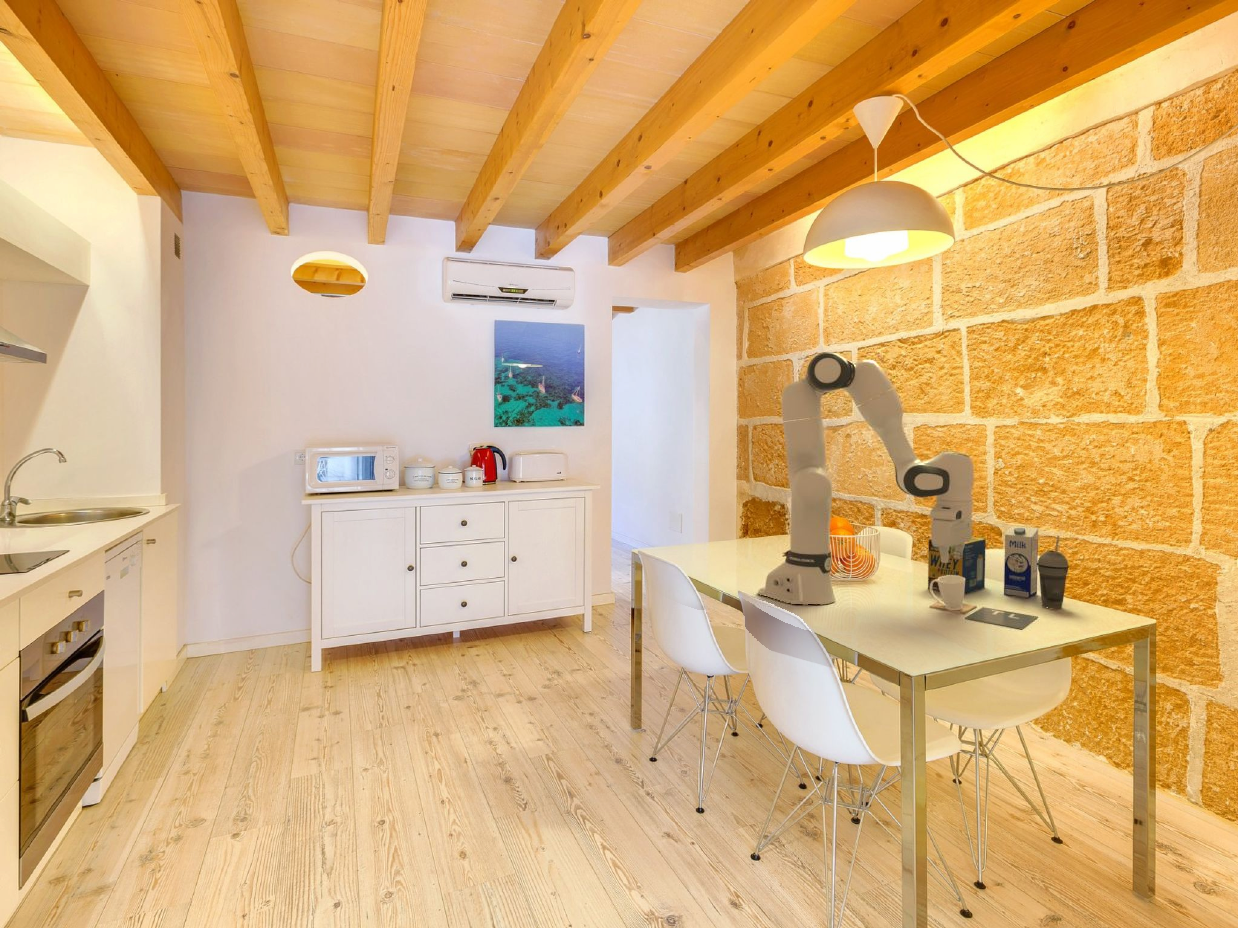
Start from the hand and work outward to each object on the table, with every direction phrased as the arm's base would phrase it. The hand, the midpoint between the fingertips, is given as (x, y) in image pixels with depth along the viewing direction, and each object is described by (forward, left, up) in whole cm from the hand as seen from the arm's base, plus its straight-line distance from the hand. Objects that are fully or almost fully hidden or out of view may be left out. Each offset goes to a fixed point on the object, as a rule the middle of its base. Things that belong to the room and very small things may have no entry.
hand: (951, 560), depth 178 cm
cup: (0, -2, -13) cm, 13 cm away
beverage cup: (+20, +19, -13) cm, 31 cm away
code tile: (+13, -2, -13) cm, 19 cm away
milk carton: (+10, +28, -13) cm, 33 cm away
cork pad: (+1, 0, -13) cm, 13 cm away
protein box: (-6, +23, -14) cm, 28 cm away
